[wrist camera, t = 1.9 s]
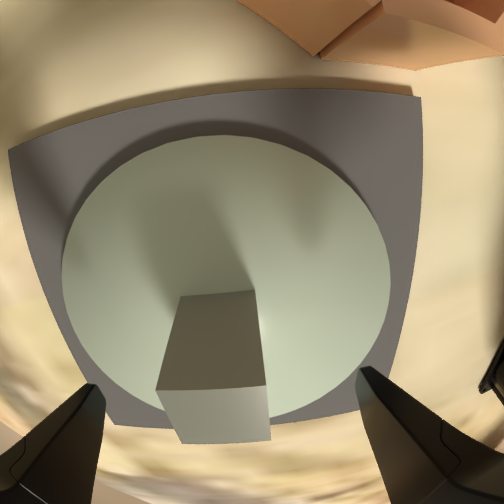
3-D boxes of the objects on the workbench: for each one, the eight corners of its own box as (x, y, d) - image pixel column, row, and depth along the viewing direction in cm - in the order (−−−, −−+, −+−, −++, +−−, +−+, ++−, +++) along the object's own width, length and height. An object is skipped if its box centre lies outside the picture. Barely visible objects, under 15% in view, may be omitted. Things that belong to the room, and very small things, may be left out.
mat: (376, 399, 17) (379, 404, 17) (116, 419, 17) (114, 424, 16) (414, 97, 10) (420, 97, 9) (14, 148, 10) (7, 149, 9)
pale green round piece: (362, 395, 16) (391, 468, 11) (126, 413, 16) (106, 485, 11) (393, 129, 10) (495, 141, 5) (33, 173, 10) (-60, 212, 5)
